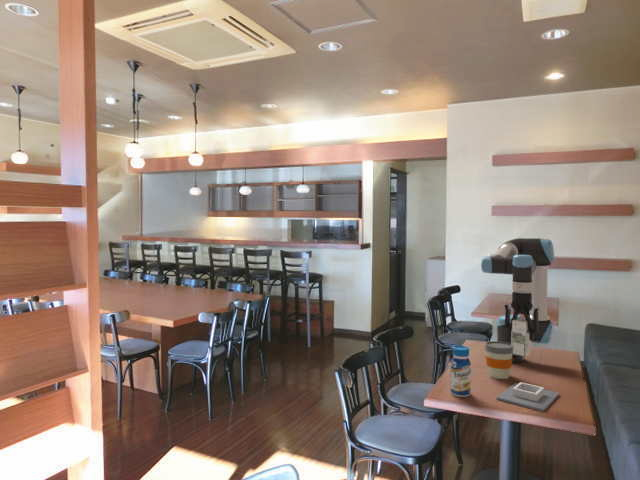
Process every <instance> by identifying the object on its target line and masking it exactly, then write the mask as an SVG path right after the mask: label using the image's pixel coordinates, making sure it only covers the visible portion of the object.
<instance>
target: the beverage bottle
mask: <svg viewBox="0 0 640 480" xmlns="http://www.w3.org/2000/svg"><path fill="white" fill-rule="evenodd" d="M452 355H453V356H452V358H451V360H450V365H451V366H450V367H449V368H450V369H449V370H450V394H452V395H453V396H456V397H459V398H466V397H469V396H470V395H471V375H472V369H471V366H472V364H471V361H470V359H469V356H470V348H469V347H467V346H465V345H454V346H453V347H452Z"/></svg>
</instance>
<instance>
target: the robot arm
mask: <svg viewBox="0 0 640 480" xmlns="http://www.w3.org/2000/svg"><path fill="white" fill-rule="evenodd" d="M554 262H555V251H554V243H553V241H552V240H551V239H549V238H541V237H540V238H534V237H533V238H528V237H527V238H525V237H524V238H522V237H521V238H520V237H519V238H514V239H513V238H512V239H510V240H508V241H505V242H503V243H501V244H500V246H499V247H498V250H497V251H496V252H495V253H494V254H493V255H492V256H491V255H490V256H483V257H482V259H481V263H480V264H481V265H480V266H481V271H482V272H483V273H485V274H496V275H497V274H499V275H512V282H511V283H512V285H511V286H512V288H511V291H512V292H511V296H512V297H511V303H507V304H504V310H505V314H504V315H500V316H499V317H498V318H497V323H496V329H497V330H496V332H497V333H496V341H499V342H506V343H509V344H511V346H512V321H513V320H516V319H522V320H526V322H527V326H528V329H529V332H528V333H527V349H529V348H530V349H531V348H532V343H535V344H539V345H540V344H544V345H548V344H550V342H551V339H552V334H553V330H554V321H551V317H550V316H549V315H548V269H549V268H550V267H551V266H552V263H554ZM511 309H513V313H512V312H511ZM511 313H512V314H511ZM520 314H521V315H523V316H524V318H523V317H522V316H521V315H520ZM512 357H513V359H512V364H514V363H522V362H524V360H525V357H524V356H519V355H514V354H512Z"/></svg>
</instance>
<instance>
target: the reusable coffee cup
mask: <svg viewBox="0 0 640 480" xmlns="http://www.w3.org/2000/svg"><path fill="white" fill-rule="evenodd" d="M484 347H485V348H484V350H485V362H486V363H485V364H486V365H487V371H488V376H489V377H490V378H493V379H498V380H506V379H509V378H510V373H511V369H512V365H513V363H512V359H513V357H512V346H511V344H509V343H506V342H499V341H497V340H496V341H495V340H493V341H492V340H491V341H486V342H485V346H484Z"/></svg>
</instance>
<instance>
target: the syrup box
mask: <svg viewBox="0 0 640 480" xmlns="http://www.w3.org/2000/svg"><path fill="white" fill-rule="evenodd" d="M522 319H523V318H522ZM522 319H516V320H513V321H512V354H514V355H519V356H524V358H526V357H528V356H529V355H530V354H531V348H529V349H527V333H528V332H529V329H528V326H527V322H526V320H522Z"/></svg>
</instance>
